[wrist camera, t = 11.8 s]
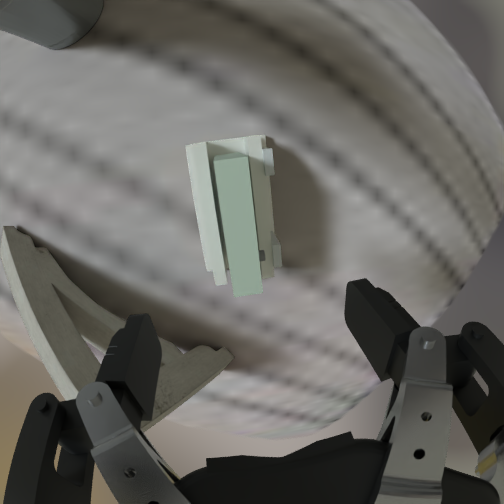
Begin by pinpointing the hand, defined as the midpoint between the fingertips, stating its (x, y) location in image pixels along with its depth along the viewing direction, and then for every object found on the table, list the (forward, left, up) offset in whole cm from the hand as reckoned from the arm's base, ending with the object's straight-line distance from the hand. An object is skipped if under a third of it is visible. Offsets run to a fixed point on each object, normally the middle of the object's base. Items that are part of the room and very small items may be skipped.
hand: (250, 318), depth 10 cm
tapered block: (0, 0, -19) cm, 19 cm away
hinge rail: (0, 0, -20) cm, 20 cm away
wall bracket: (+10, -18, -21) cm, 29 cm away
